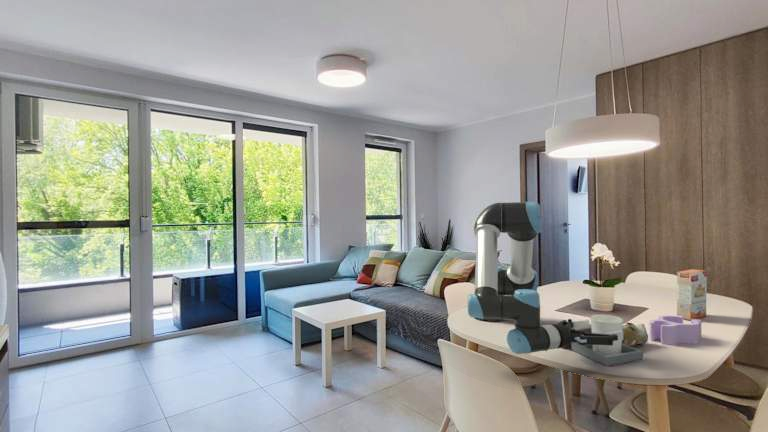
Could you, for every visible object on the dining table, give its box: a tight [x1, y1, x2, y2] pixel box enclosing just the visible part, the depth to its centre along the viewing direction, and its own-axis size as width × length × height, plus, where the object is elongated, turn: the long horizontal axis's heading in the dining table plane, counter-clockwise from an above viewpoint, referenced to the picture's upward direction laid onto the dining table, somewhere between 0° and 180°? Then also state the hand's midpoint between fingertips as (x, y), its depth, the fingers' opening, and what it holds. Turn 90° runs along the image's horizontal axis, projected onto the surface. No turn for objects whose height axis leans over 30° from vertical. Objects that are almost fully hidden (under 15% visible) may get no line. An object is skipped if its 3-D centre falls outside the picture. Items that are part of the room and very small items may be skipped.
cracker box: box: [676, 268, 708, 321], centre depth 172 cm, size 14×6×21 cm, turn 118°
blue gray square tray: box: [570, 342, 644, 368], centre depth 131 cm, size 15×15×3 cm
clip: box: [648, 314, 702, 346], centre depth 146 cm, size 20×12×7 cm, turn 112°
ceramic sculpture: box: [622, 322, 649, 348], centre depth 140 cm, size 11×9×15 cm
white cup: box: [589, 314, 624, 356], centre depth 132 cm, size 10×10×12 cm
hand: (604, 329), depth 131 cm, fingers open, 13 cm apart
